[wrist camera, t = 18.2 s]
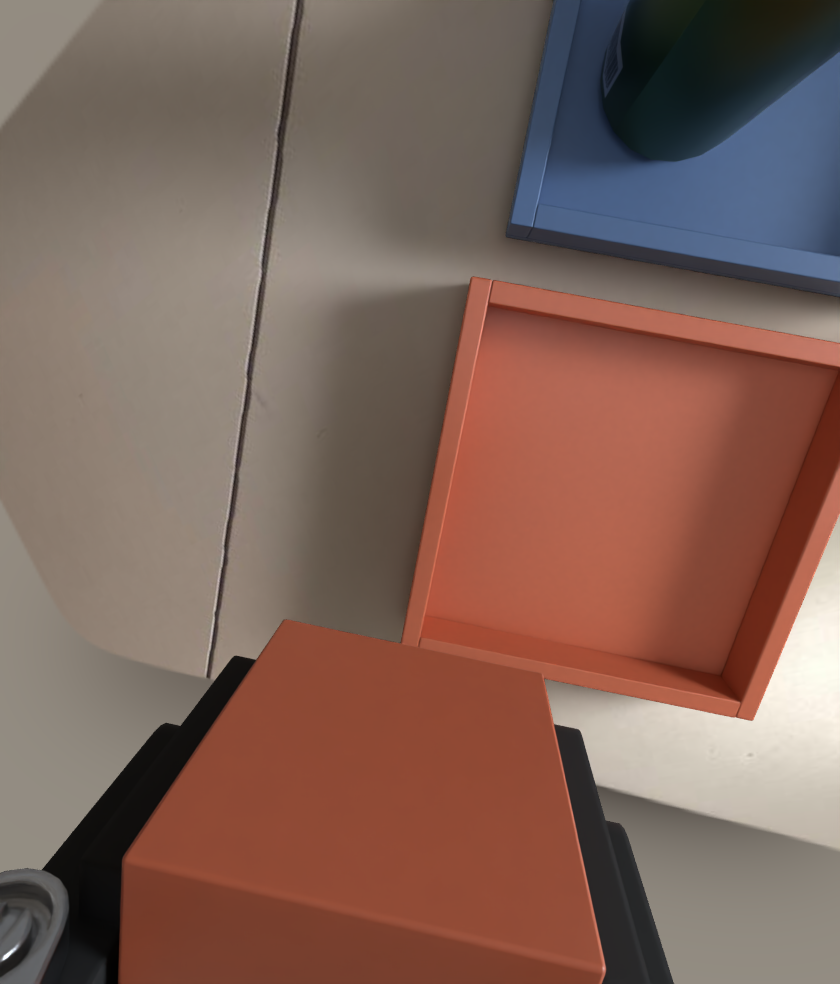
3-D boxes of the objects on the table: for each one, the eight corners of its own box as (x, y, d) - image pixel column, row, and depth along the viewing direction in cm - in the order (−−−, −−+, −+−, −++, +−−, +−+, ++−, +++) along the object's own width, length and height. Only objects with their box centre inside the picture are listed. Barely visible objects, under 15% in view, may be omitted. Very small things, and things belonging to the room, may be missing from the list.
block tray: (405, 620, 26) (399, 649, 24) (470, 283, 22) (471, 275, 20) (725, 685, 26) (753, 722, 23) (856, 353, 22) (907, 355, 19)
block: (258, 821, 11) (109, 1156, 6) (283, 617, 9) (119, 858, 5) (487, 873, 10) (497, 1255, 6) (543, 672, 9) (609, 972, 5)
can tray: (504, 237, 22) (510, 223, 19) (588, -171, 18) (608, -254, 16) (902, 308, 21) (960, 304, 19) (1066, -97, 18) (1166, -170, 15)
